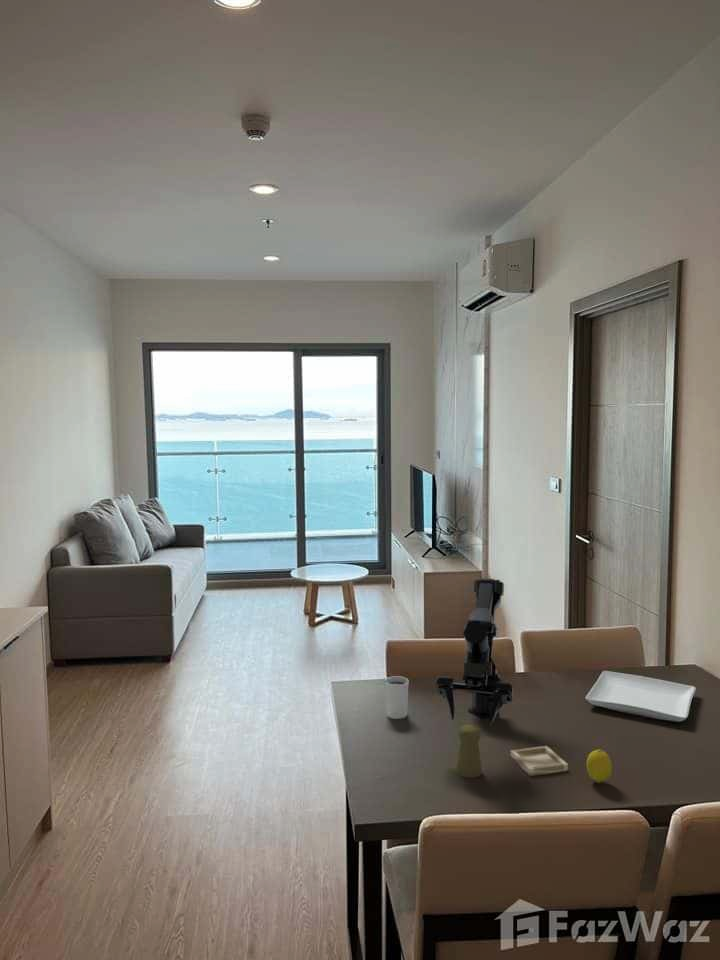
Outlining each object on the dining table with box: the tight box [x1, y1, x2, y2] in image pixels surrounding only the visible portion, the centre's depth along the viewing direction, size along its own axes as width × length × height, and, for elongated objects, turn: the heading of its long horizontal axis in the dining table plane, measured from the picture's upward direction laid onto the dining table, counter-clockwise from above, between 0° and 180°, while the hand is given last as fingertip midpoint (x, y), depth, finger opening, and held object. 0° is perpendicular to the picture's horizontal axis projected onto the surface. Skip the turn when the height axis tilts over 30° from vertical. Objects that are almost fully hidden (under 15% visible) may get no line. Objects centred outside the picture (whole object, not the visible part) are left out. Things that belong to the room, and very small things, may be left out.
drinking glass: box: [384, 675, 410, 720], centre depth 205 cm, size 7×7×10 cm
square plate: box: [585, 670, 697, 723], centre depth 214 cm, size 27×27×4 cm
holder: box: [510, 745, 569, 777], centre depth 176 cm, size 10×10×2 cm
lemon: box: [585, 748, 613, 784], centre depth 167 cm, size 6×6×8 cm
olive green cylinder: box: [456, 724, 483, 779], centre depth 172 cm, size 6×6×11 cm
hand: (471, 721), depth 175 cm, fingers open, 9 cm apart
